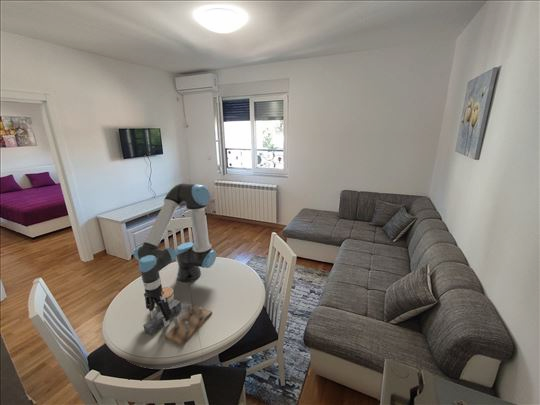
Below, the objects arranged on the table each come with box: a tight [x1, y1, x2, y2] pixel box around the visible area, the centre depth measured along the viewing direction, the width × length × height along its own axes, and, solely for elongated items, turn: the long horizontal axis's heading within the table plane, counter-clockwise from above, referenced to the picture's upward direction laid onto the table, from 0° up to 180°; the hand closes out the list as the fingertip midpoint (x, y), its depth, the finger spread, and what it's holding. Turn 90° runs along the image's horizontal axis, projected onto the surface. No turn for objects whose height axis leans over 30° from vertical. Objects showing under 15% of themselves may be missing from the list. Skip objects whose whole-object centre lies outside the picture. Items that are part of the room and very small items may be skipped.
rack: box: [164, 303, 213, 347], centre depth 122 cm, size 22×11×8 cm, turn 155°
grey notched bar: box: [142, 298, 182, 337], centre depth 126 cm, size 20×5×5 cm, turn 155°
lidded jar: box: [155, 286, 175, 305], centre depth 137 cm, size 11×11×9 cm
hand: (161, 322), depth 126 cm, fingers open, 8 cm apart
